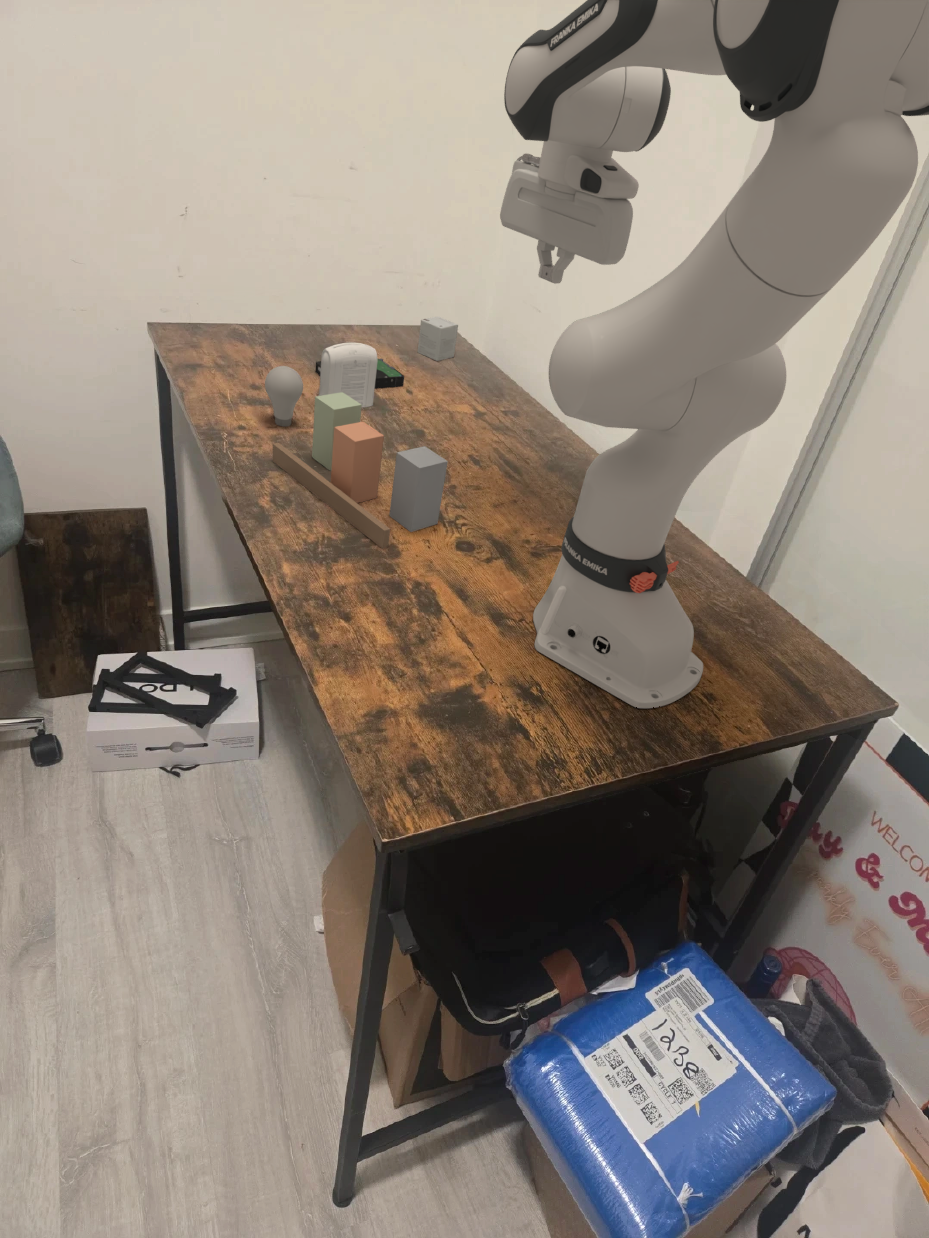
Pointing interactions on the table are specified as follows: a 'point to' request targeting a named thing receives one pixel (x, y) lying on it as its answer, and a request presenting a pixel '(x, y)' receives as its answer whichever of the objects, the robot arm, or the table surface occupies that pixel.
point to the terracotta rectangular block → (357, 460)
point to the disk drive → (381, 375)
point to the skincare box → (437, 338)
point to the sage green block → (331, 423)
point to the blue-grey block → (417, 488)
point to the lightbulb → (283, 392)
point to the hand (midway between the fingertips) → (549, 280)
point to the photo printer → (349, 371)
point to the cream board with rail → (332, 496)
